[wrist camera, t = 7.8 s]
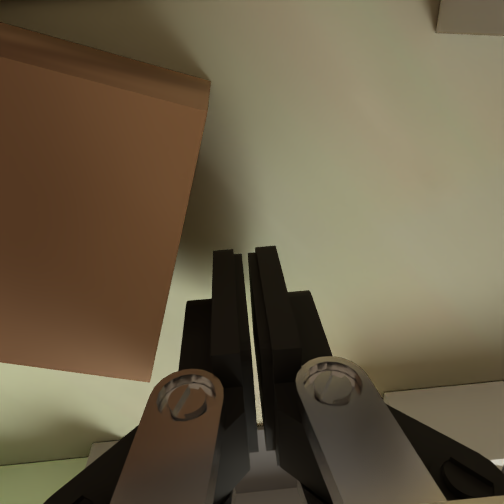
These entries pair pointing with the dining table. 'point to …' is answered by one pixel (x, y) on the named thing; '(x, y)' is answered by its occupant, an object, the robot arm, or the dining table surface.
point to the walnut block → (90, 202)
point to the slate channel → (409, 402)
